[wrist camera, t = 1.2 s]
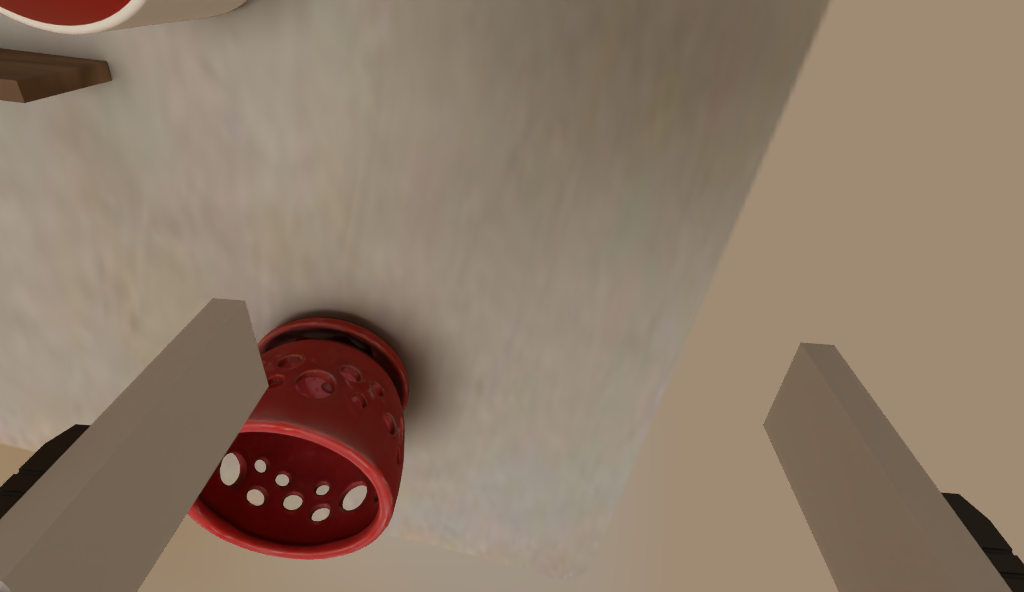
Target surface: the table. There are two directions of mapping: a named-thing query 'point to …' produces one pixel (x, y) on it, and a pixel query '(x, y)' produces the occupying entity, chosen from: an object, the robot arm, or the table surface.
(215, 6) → the cup
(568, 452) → the table surface
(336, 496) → the plant pot
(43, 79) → the box
